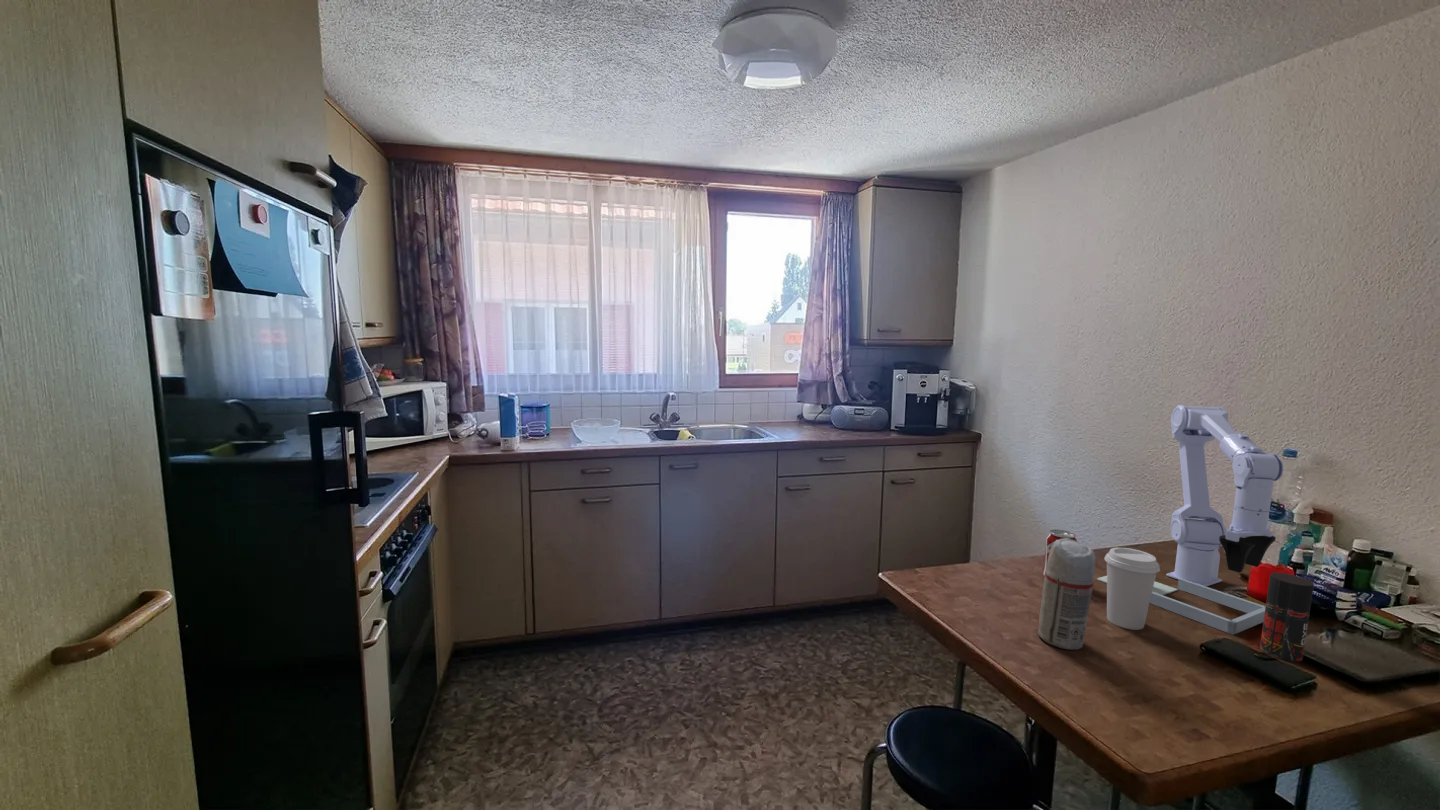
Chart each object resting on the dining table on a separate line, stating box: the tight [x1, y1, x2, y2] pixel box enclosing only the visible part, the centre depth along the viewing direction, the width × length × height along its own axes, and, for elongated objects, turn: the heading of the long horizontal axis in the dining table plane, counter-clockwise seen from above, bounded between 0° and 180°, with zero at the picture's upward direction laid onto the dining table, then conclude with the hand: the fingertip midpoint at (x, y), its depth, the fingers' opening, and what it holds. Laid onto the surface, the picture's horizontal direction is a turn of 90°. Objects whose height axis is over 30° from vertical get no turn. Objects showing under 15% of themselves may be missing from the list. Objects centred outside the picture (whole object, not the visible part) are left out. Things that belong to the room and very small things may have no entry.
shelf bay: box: [1149, 578, 1266, 636], centre depth 129 cm, size 16×17×2 cm
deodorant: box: [1259, 572, 1315, 663], centre depth 111 cm, size 6×6×15 cm
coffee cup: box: [1104, 547, 1161, 631], centre depth 122 cm, size 10×10×15 cm
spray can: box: [1036, 538, 1097, 650], centre depth 113 cm, size 8×8×20 cm
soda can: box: [1042, 529, 1078, 577], centre depth 143 cm, size 7×7×12 cm
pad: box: [1096, 575, 1179, 596], centre depth 142 cm, size 12×12×1 cm
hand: (1243, 568), depth 127 cm, fingers open, 7 cm apart
